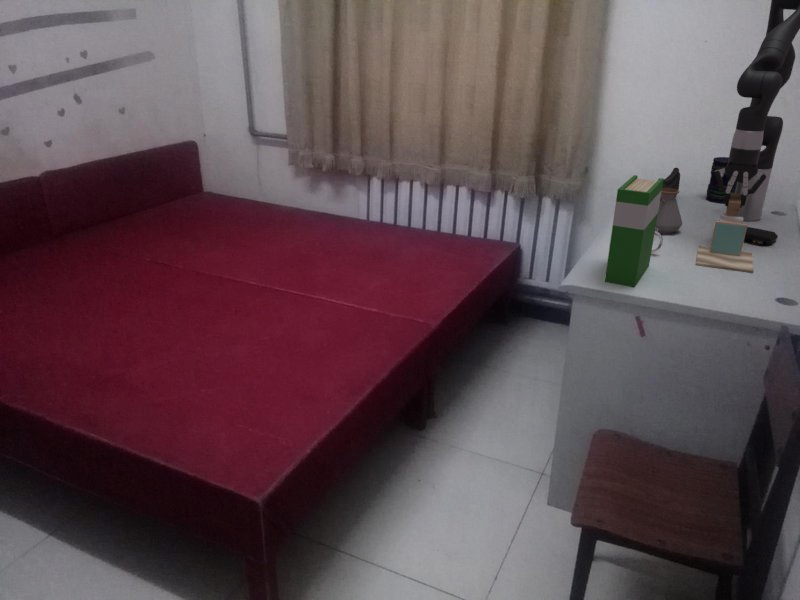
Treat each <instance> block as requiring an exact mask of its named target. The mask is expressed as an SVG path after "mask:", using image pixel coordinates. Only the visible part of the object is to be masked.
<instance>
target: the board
mask: <svg viewBox="0 0 800 600" xmlns="http://www.w3.org/2000/svg"><path fill="white" fill-rule="evenodd" d="M709 251H710V246H704V245H703V246H702V245H698V247H697V254H696V259H695V266H701V267H705V268H706V267H707V268H713V269H721V270H728V271H729V270H730V271H736V272H742V273H749V274H750V273H751V274H754V272H755V271H754V263H753V261H754V259H753V253H752V252H749V251H748V252H747V251H742V252H741V256H734V255H727V254H719V253H712V252H709Z"/></svg>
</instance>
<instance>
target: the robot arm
mask: <svg viewBox="0 0 800 600" xmlns="http://www.w3.org/2000/svg"><path fill="white" fill-rule="evenodd" d="M769 7H770V8H769V15H768V21H767V26H766V27H767V28H766V33H765V37H764V38H763V40H762V42H761V44H760V46H759V49H758V52H757V54H756V56H755V57H754V59H753V60H752V61H751V63H750V64H749V65H748V66H747V67H746V69H745V70H744V71H743V72H742V73H741V75H740V77H739V78H738V81H737V85H736V91H737V94H738V95H739V97H742V98H748V99H749V98H750V99H751V101H750V104H749V106H747V107H743V108H741V109H740V111H739V112H738V116H737V117H738V118H737V121H736V125H735V130H734V132H733V133H734V134H733V136H732V141H731V146H730V151H729V155H728V157H729V159H728V164H727V165H726V166H725V168H724V169H720V170H716V171H715V176H716V179H717V183H718V186H719V190H720V191H723V192H725V197H724V204H723V205H724V207H727V206H728V203H729V198H730V195H731V193H730V191H731V189H732V186H733V184H734V182H737V185H736V190H735V194H741V205H740V209H739V213H738V217H743V221H746V222H747V221H748V222H755V221H760V220H761V217H762V213H763V210H764V209H763V208H764V205H765V201H766V197H767V192H768V188H769V184H770V181H771V180H770V179H771V173H772V172H773V171H772V170H773V166H774V161H775V156H776V153H777V148H778V146H779V141H780V138H781V136H782V132H783V131H782V130H783V127H784V120H783V118H782V117H780V116H775V115H774V116H773V115H768V114H769V113H770V110H771V107H772V106H773V103H774V101H775V99H776V98H777V96H778V94H779V92H780V90H781V89H782V88H783V87H784V86H785V85H786V84H787V82H788V81H789V80H790V77H791V76H792V72H793V68H794V64H795V61H796V51H795V47H794V45H793V41H794V39H795V37H796V36H797V34H798V32H799V31H800V0H771V2H770V6H769ZM784 10H790V11H791V10H793V11H794V12H792V14H791V15H789V16H788V17H787V18H786V19H784V18H785V17H784ZM762 147H764V149H762ZM724 172H726V174H727V176H728V177H729V179H730V180H729V182H728V185H727V187H725V186H724V185H723V181H722V178H721V177H723V175H724Z"/></svg>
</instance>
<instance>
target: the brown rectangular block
mask: <svg viewBox="0 0 800 600" xmlns="http://www.w3.org/2000/svg"><path fill="white" fill-rule="evenodd" d="M740 205H741V194H735V193H731V195H730V198H729V203H728V206H726V211H725V214H719V215H720V216H719V221H726V222H735V223H743V224H744V220H743V217H738V213H739V209H740Z"/></svg>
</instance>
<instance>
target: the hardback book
mask: <svg viewBox="0 0 800 600" xmlns="http://www.w3.org/2000/svg"><path fill="white" fill-rule="evenodd" d="M658 179H659V178H658ZM658 179H657V180H651V179H643V178H642V179H641V178H638V175H637V174H635V175H632V176H631V177H630V178H629V179H628V180H627V181H626V182H624V183H623V184H621V186H620V187H618V189H617V192H616V199H615V205H614V213H613V220H612V227H611V228H612V229H611V235H610V242H609V250H608V255H607V256H608V257H607V263H606V271H605V278H604V283H608V284H613V285H619V286H623V287H629V288H633V289H635V287H636V286H638V283H639V282H640V281H641V279H642V277H643V276H644V274H645V273H646V272H647V270H648V268H649V267H650V261H651V256H652V253H651V251H652V250H653V244H654V239H655V227H656V221H657V216H658V210H659V204H660V198H661V192H662V186H663V180H664V179H665V178H660V179H659V180H658Z"/></svg>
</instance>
